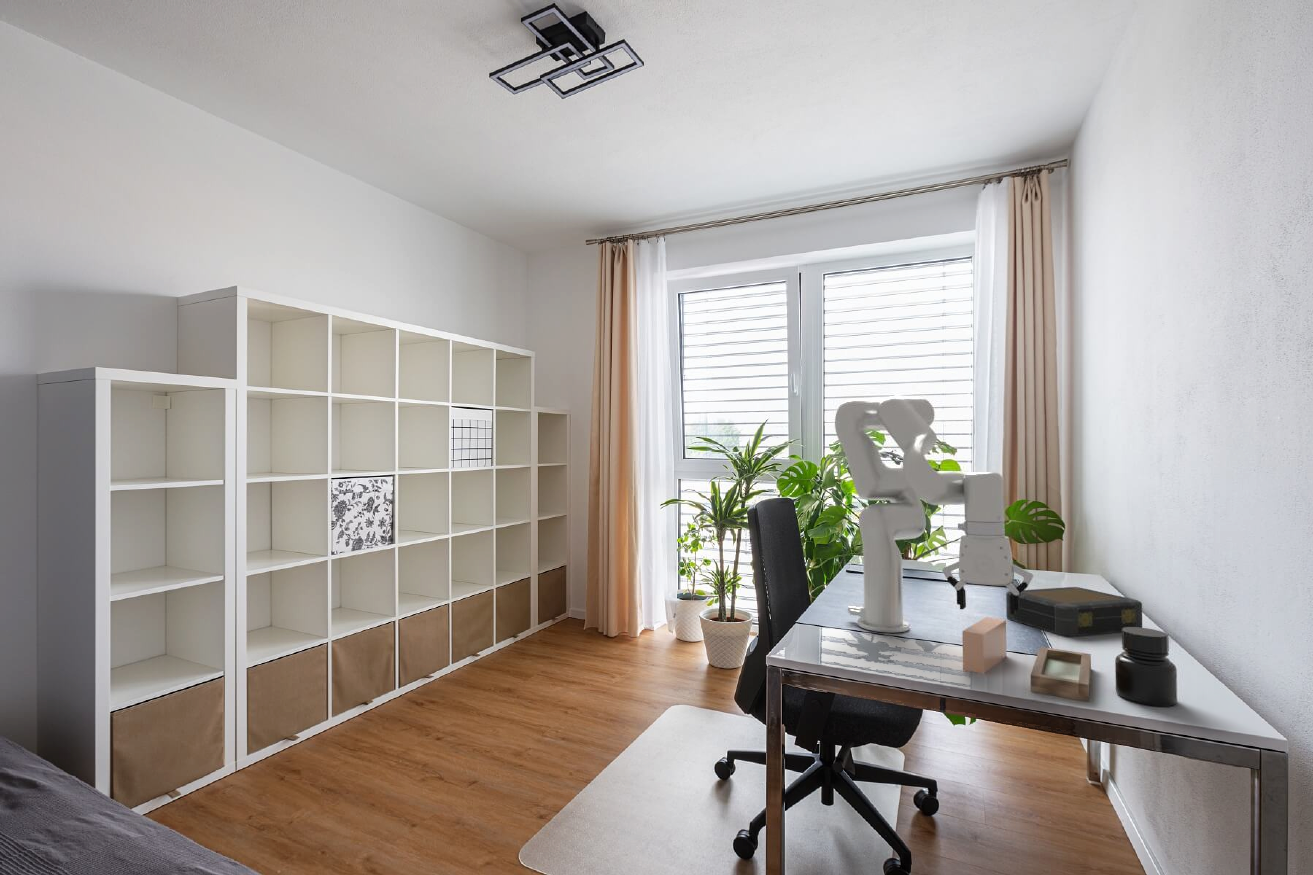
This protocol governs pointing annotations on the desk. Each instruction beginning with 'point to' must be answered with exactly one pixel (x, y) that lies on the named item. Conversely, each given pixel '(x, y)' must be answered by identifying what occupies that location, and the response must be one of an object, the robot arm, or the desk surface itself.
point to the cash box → (1075, 611)
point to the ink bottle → (1146, 668)
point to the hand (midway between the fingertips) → (987, 610)
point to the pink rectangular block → (984, 644)
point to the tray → (1062, 673)
